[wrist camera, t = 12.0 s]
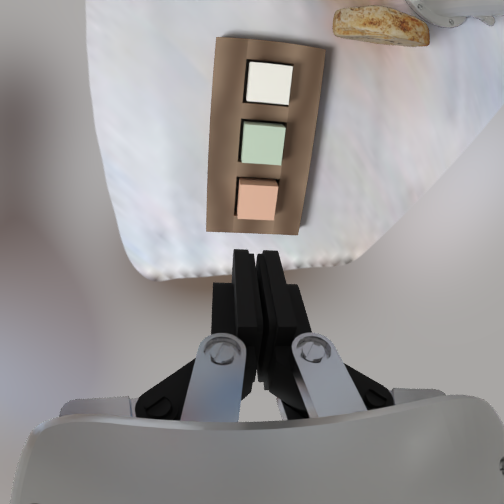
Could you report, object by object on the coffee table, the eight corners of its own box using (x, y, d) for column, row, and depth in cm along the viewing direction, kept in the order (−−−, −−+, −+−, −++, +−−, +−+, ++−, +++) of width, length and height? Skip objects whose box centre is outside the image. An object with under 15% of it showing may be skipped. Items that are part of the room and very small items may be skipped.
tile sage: (282, 124, 33) (285, 127, 31) (277, 159, 36) (281, 165, 34) (243, 121, 33) (245, 124, 31) (240, 156, 35) (241, 162, 33)
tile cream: (288, 66, 30) (292, 66, 28) (284, 102, 32) (288, 104, 30) (249, 62, 29) (250, 61, 27) (245, 99, 31) (247, 101, 29)
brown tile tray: (321, 50, 29) (325, 49, 28) (295, 228, 42) (297, 235, 41) (216, 38, 28) (216, 37, 26) (206, 224, 41) (206, 231, 39)
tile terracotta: (275, 179, 37) (278, 186, 35) (271, 211, 39) (273, 220, 37) (239, 177, 37) (240, 184, 35) (236, 209, 39) (237, 218, 37)
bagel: (399, 25, 27) (445, 20, 19) (399, 51, 29) (446, 52, 21) (322, 11, 26) (353, -7, 18) (322, 38, 28) (355, 29, 20)
